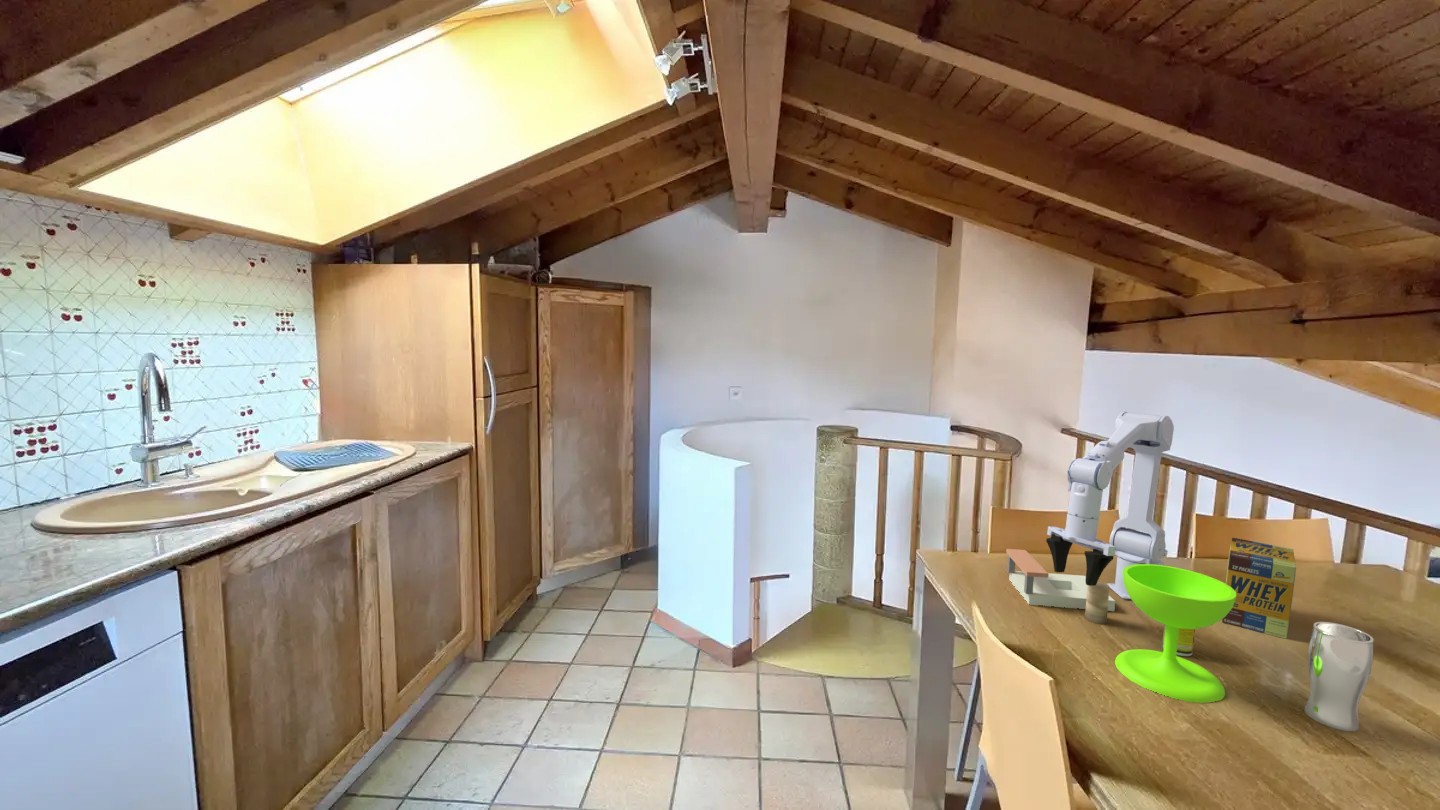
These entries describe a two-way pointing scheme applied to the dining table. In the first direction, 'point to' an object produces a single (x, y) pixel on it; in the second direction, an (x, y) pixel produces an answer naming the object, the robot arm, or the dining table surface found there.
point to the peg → (1097, 603)
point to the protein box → (1261, 586)
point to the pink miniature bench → (1025, 567)
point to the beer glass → (1337, 674)
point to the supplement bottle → (1183, 641)
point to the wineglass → (1174, 629)
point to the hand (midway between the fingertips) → (1074, 578)
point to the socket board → (1056, 590)
